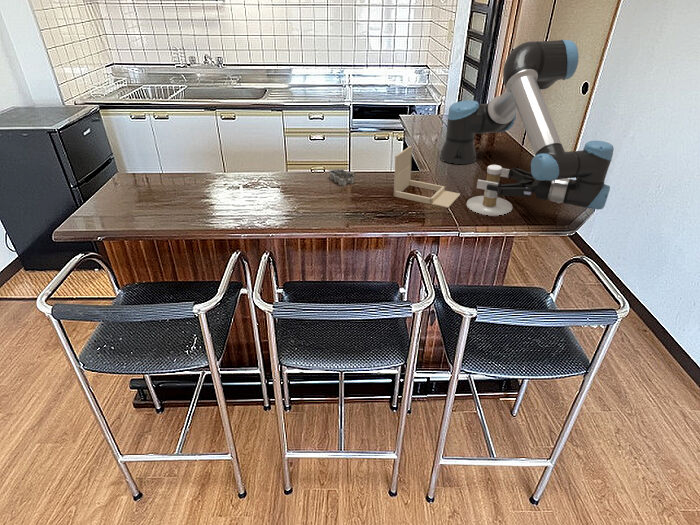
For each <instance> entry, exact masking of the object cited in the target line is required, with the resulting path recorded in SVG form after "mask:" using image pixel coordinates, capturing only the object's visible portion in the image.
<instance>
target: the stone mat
mask: <svg viewBox="0 0 700 525" xmlns="http://www.w3.org/2000/svg"><path fill="white" fill-rule="evenodd" d="M483 200H484V195H477V196H473V197H470V198H469V199H468V200H467V201H466V207H467V209H468V208H469V209H468V210H469V211H471V210H472V211H471V212H473V213H475V212H476V213H475V214H477V213H479V214H478V215H481V214H482V216H486V215H488V216H487V217H500V216H499V215H502V216H505V215H504V214H506V215H508V214H510V213H511V212H512V211H513V204H512V203H511V202H510V201H508V200H506V199H504V198H502V197H500V196H497V200H496V206H494V207H487V206H484V205H483ZM509 212H510V213H509ZM507 213H508V214H507Z"/></svg>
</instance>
